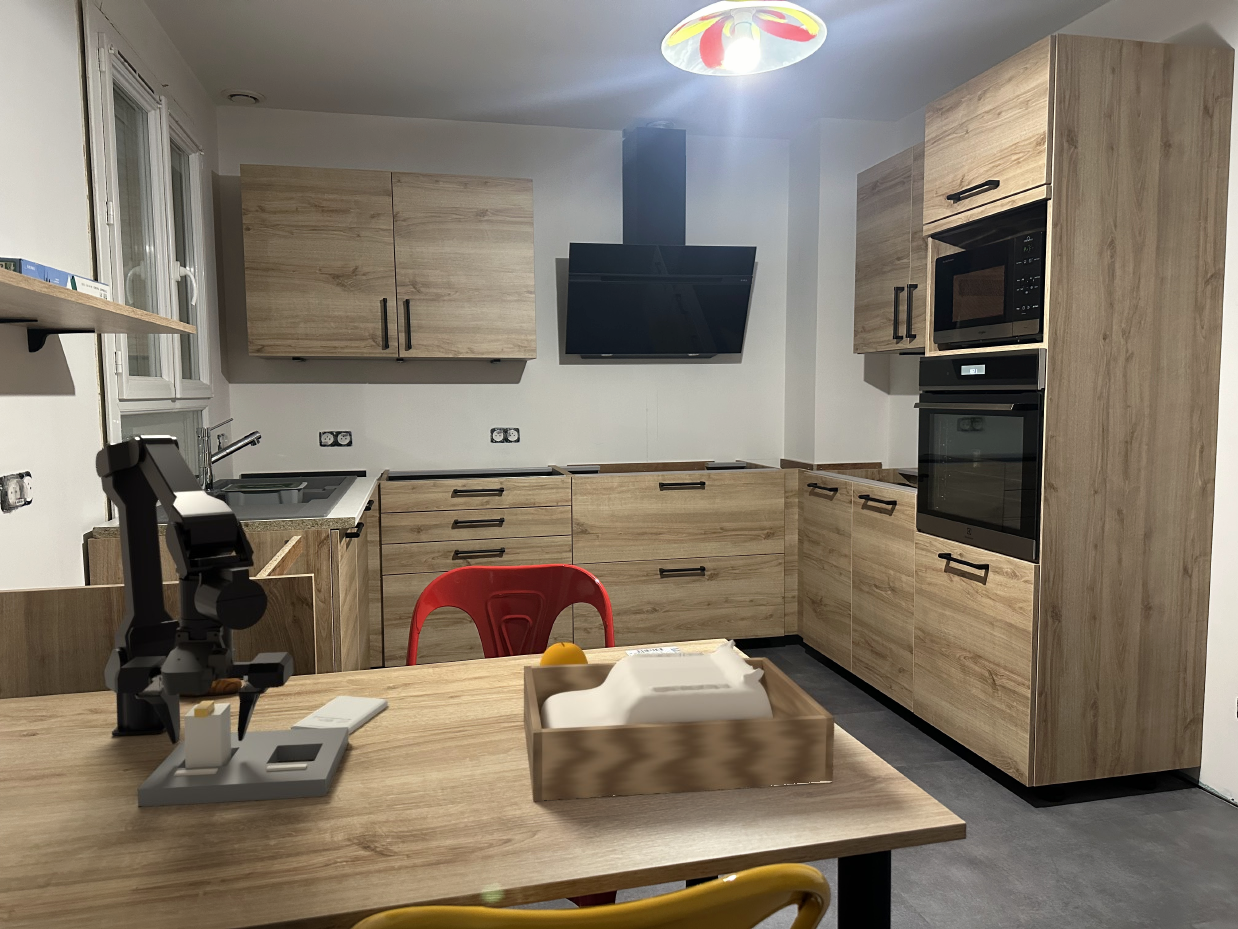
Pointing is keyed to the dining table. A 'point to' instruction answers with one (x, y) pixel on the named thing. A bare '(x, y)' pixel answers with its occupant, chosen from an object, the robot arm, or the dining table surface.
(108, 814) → the dining table surface
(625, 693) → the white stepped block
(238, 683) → the croissant
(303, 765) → the panel
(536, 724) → the wooden crate
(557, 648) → the apple
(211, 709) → the plug
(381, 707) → the external hard drive
